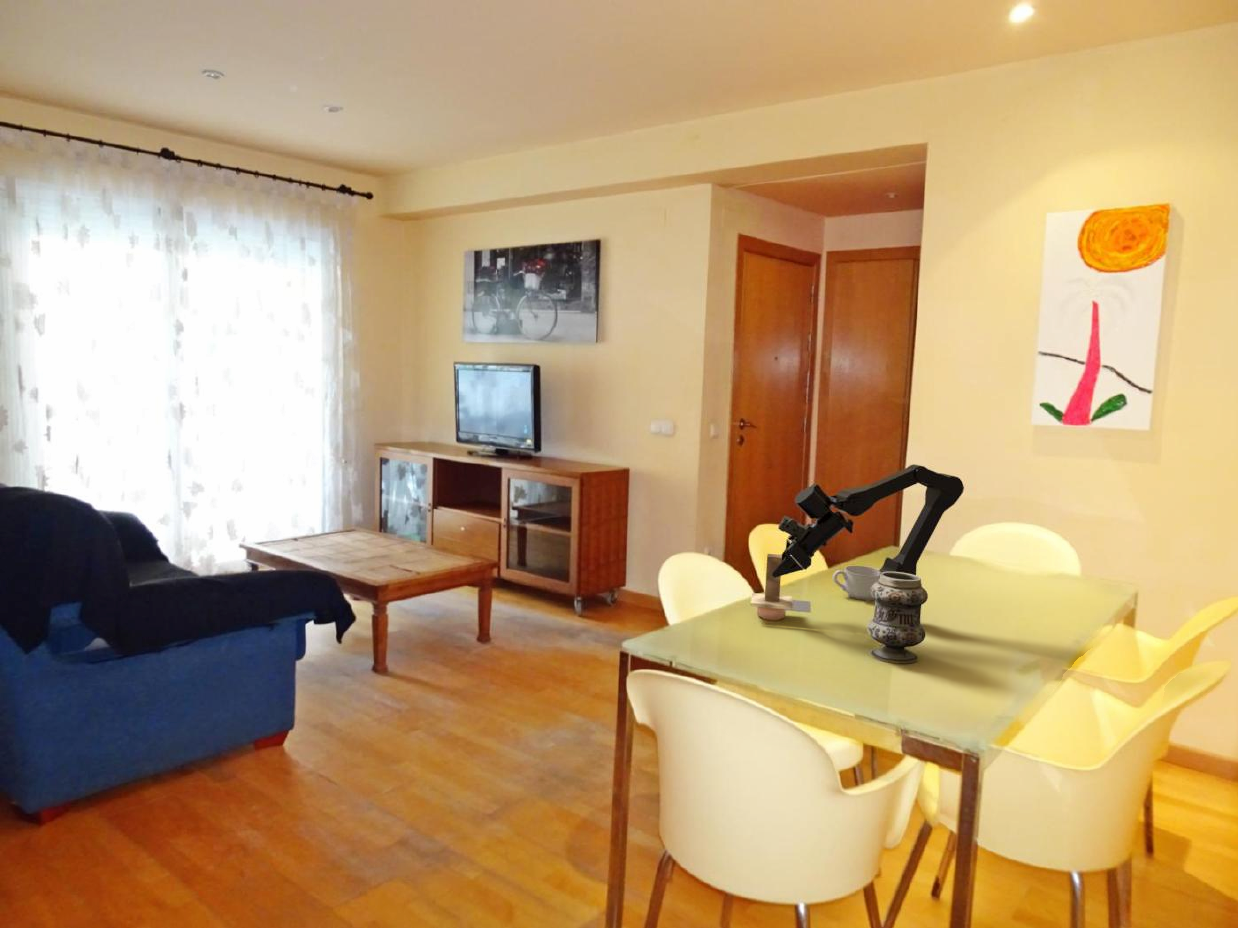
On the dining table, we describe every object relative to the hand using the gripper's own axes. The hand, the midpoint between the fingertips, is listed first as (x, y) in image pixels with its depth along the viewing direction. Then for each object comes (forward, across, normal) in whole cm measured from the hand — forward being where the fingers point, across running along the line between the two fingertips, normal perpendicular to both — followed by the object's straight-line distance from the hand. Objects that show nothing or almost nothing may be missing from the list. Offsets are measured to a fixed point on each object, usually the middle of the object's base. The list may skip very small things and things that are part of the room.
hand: (773, 571), depth 215 cm
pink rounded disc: (+8, 0, +8) cm, 12 cm away
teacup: (-7, -30, +24) cm, 39 cm away
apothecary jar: (-11, +22, +28) cm, 37 cm away
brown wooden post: (+6, 0, +6) cm, 8 cm away
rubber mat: (+5, -14, +11) cm, 18 cm away
